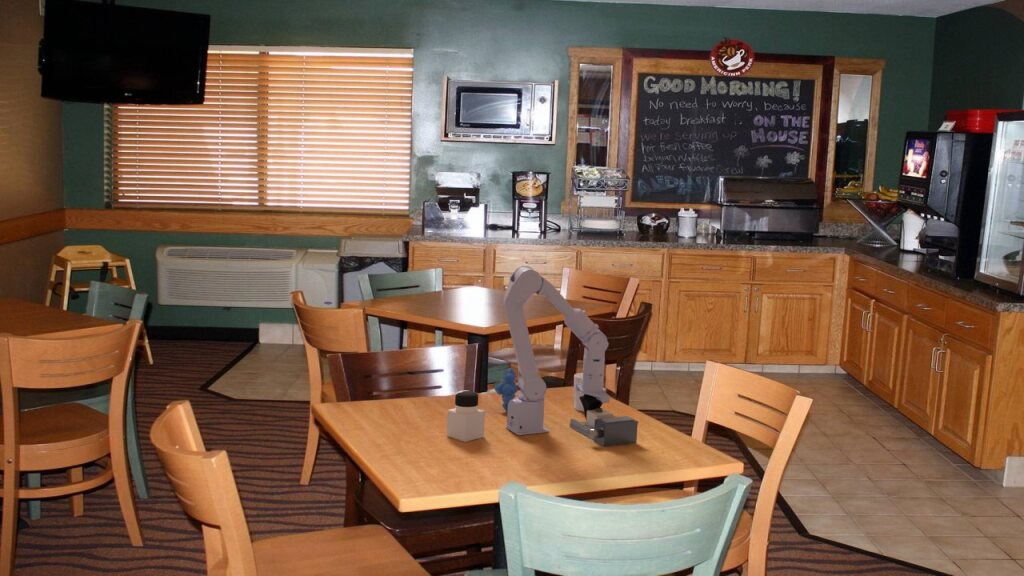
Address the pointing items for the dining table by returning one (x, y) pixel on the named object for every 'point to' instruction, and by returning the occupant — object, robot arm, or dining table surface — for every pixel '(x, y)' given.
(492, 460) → the dining table surface
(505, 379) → the grapes
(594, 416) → the block
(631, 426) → the module housing
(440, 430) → the dining table surface
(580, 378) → the white cup
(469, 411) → the medicine bottle
